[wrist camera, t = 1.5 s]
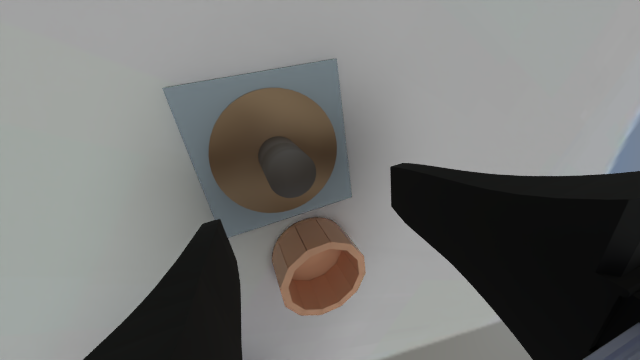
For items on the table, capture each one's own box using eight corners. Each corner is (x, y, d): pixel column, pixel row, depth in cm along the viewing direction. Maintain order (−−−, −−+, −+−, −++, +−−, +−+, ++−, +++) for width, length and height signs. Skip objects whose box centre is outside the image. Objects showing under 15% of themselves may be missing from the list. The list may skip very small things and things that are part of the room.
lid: (340, 190, 21) (368, 216, 17) (232, 224, 19) (235, 264, 15) (325, 76, 17) (356, 76, 13) (187, 102, 15) (175, 112, 11)
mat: (349, 194, 22) (351, 196, 22) (222, 235, 20) (222, 239, 19) (333, 59, 18) (336, 58, 17) (163, 87, 15) (162, 88, 14)
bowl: (347, 264, 26) (367, 294, 22) (281, 291, 24) (291, 328, 20) (339, 206, 23) (361, 230, 19) (263, 232, 21) (272, 263, 17)
